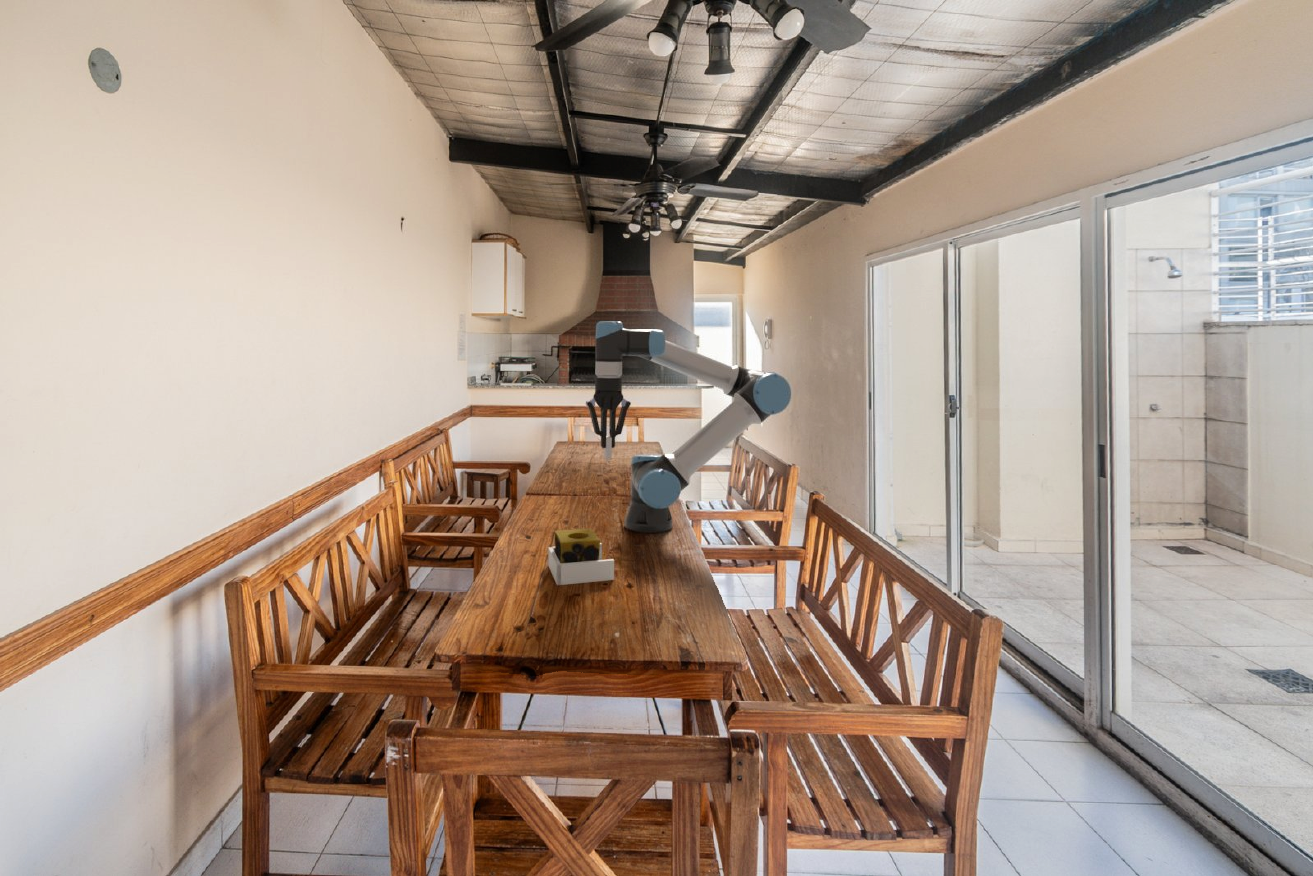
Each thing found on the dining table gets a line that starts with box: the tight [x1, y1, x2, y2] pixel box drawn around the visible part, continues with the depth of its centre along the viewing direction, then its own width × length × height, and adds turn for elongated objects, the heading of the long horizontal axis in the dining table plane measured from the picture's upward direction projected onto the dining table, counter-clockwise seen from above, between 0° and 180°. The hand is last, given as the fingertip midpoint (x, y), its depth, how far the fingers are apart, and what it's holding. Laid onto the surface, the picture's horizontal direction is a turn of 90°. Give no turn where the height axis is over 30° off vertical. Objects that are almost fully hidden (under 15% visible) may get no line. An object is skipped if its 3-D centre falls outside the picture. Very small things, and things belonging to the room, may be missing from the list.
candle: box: [554, 528, 601, 563], centre depth 160 cm, size 10×10×10 cm
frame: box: [547, 542, 615, 586], centre depth 160 cm, size 14×14×5 cm
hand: (607, 458), depth 183 cm, fingers closed
